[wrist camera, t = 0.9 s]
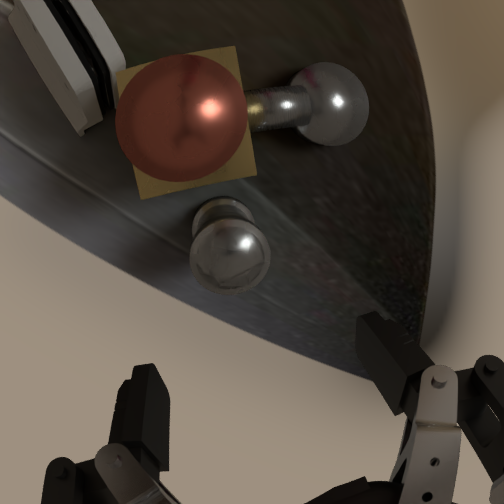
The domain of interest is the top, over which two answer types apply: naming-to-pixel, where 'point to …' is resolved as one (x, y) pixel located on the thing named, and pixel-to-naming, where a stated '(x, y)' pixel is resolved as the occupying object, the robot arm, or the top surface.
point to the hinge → (71, 55)
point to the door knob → (227, 247)
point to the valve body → (223, 116)
